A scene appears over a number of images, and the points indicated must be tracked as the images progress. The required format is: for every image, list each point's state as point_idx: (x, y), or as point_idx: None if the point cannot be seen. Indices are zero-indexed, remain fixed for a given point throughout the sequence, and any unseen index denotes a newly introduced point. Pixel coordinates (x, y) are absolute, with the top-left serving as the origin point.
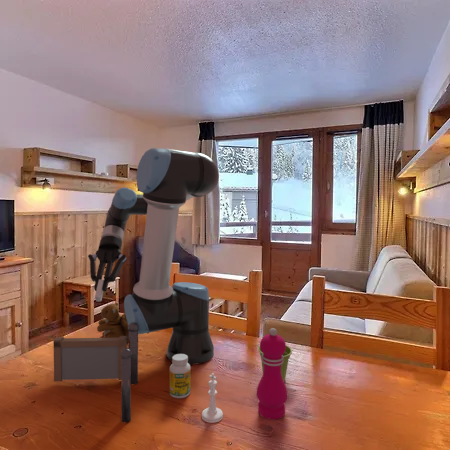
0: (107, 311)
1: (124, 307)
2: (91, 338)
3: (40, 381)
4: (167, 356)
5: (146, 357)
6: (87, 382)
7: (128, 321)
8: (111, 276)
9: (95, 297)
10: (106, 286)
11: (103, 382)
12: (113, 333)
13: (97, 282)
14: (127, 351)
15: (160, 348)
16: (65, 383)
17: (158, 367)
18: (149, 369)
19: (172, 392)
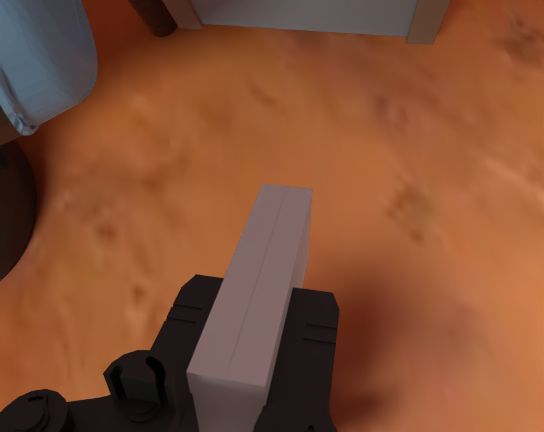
0: None
1: (59, 26)
2: None
3: (497, 66)
4: (33, 192)
5: (115, 211)
6: (318, 40)
7: (82, 28)
8: (35, 410)
9: (304, 191)
10: (174, 307)
11: (262, 34)
12: None
13: (294, 374)
14: None
15: (54, 293)
16: (396, 41)
17: (77, 118)
18: (108, 107)
19: None
